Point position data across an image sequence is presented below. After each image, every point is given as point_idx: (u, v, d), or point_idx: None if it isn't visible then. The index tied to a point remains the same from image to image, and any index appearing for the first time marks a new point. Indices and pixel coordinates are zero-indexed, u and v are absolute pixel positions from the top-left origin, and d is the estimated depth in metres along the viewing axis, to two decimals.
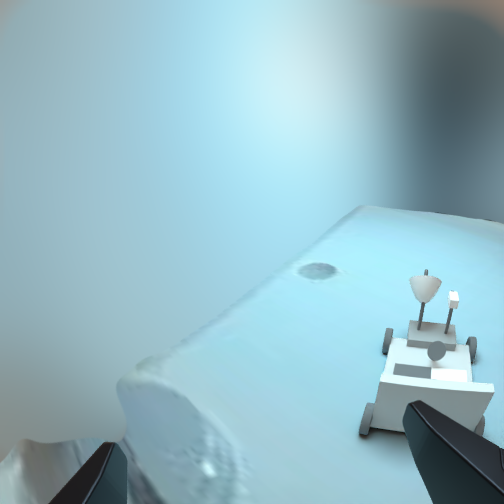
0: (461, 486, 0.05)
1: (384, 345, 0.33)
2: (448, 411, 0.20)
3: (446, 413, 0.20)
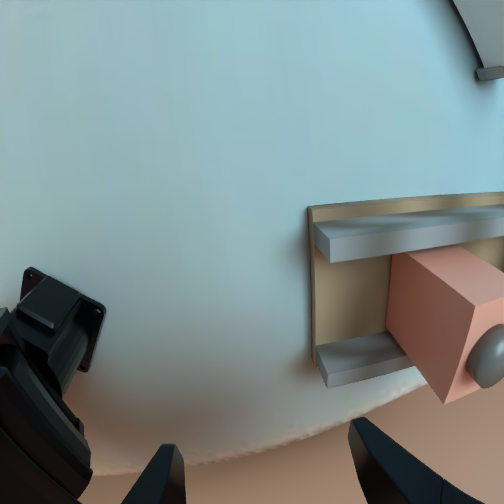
0: None
1: None
2: (497, 16, 0.11)
3: (493, 16, 0.11)
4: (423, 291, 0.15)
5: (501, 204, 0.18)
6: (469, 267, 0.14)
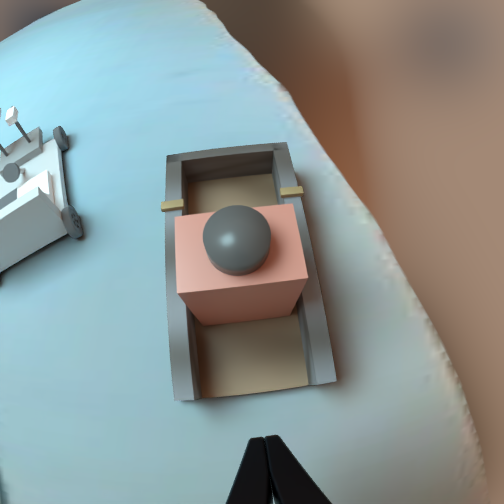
0: None
1: None
2: (23, 229, 0.22)
3: (24, 231, 0.22)
4: (216, 311, 0.18)
5: None
6: None
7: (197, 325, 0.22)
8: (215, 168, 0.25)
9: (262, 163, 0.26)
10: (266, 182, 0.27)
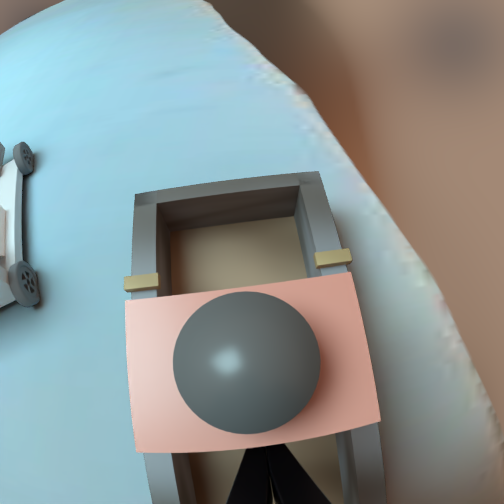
0: None
1: None
2: None
3: None
4: None
5: None
6: None
7: (191, 452, 0.13)
8: (210, 212, 0.17)
9: (281, 203, 0.17)
10: (286, 230, 0.18)
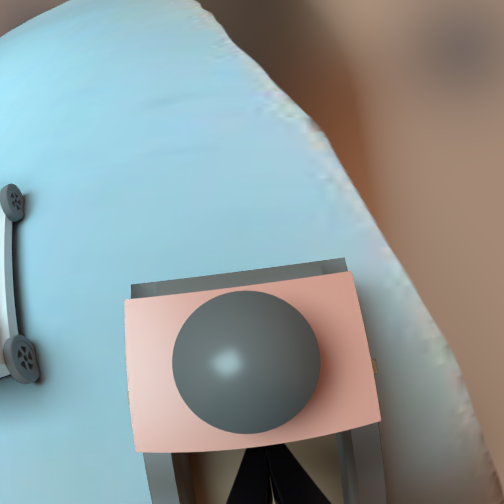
0: None
1: None
2: None
3: None
4: None
5: None
6: None
7: None
8: None
9: None
10: None
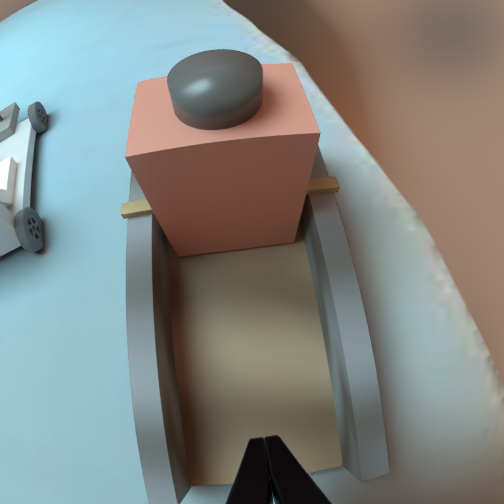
0: None
1: None
2: None
3: None
4: (190, 216, 0.13)
5: None
6: None
7: (181, 387, 0.14)
8: None
9: None
10: None
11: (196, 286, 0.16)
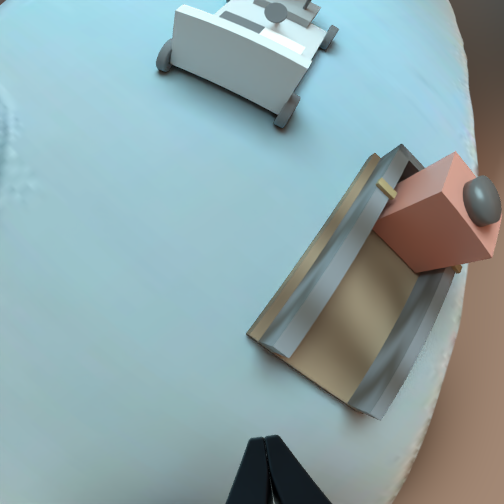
0: None
1: None
2: (251, 68, 0.20)
3: (249, 70, 0.20)
4: (411, 224, 0.20)
5: (369, 177, 0.24)
6: (418, 182, 0.19)
7: None
8: None
9: None
10: None
11: (363, 247, 0.23)
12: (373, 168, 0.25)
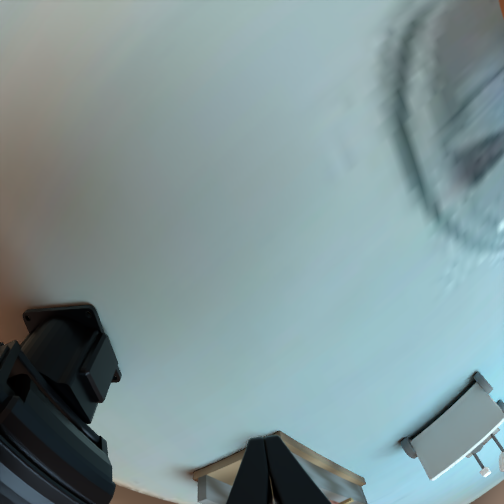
0: None
1: None
2: (446, 443, 0.24)
3: (445, 441, 0.24)
4: None
5: (352, 483, 0.29)
6: None
7: None
8: None
9: None
10: None
11: None
12: (356, 484, 0.29)
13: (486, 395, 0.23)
